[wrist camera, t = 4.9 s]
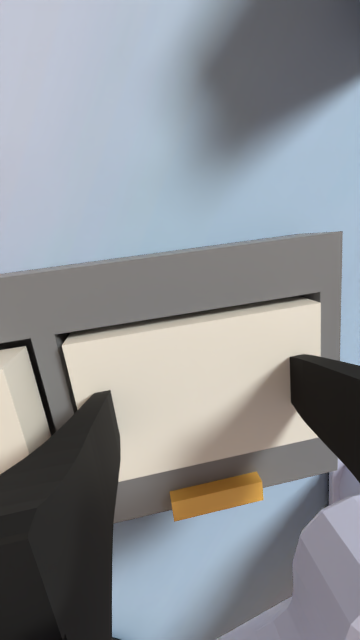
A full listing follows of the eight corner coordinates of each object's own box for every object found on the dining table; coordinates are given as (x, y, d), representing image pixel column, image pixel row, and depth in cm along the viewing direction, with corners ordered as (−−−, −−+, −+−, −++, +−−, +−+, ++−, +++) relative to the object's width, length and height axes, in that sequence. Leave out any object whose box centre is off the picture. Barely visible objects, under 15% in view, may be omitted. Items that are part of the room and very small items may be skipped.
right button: (296, 412, 15) (320, 436, 13) (101, 452, 14) (96, 486, 12) (293, 294, 13) (320, 302, 11) (72, 329, 12) (61, 345, 10)
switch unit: (302, 431, 17) (346, 479, 14) (-142, 529, 14) (-228, 619, 11) (299, 233, 14) (353, 230, 11) (-260, 308, 11) (-429, 337, 8)
